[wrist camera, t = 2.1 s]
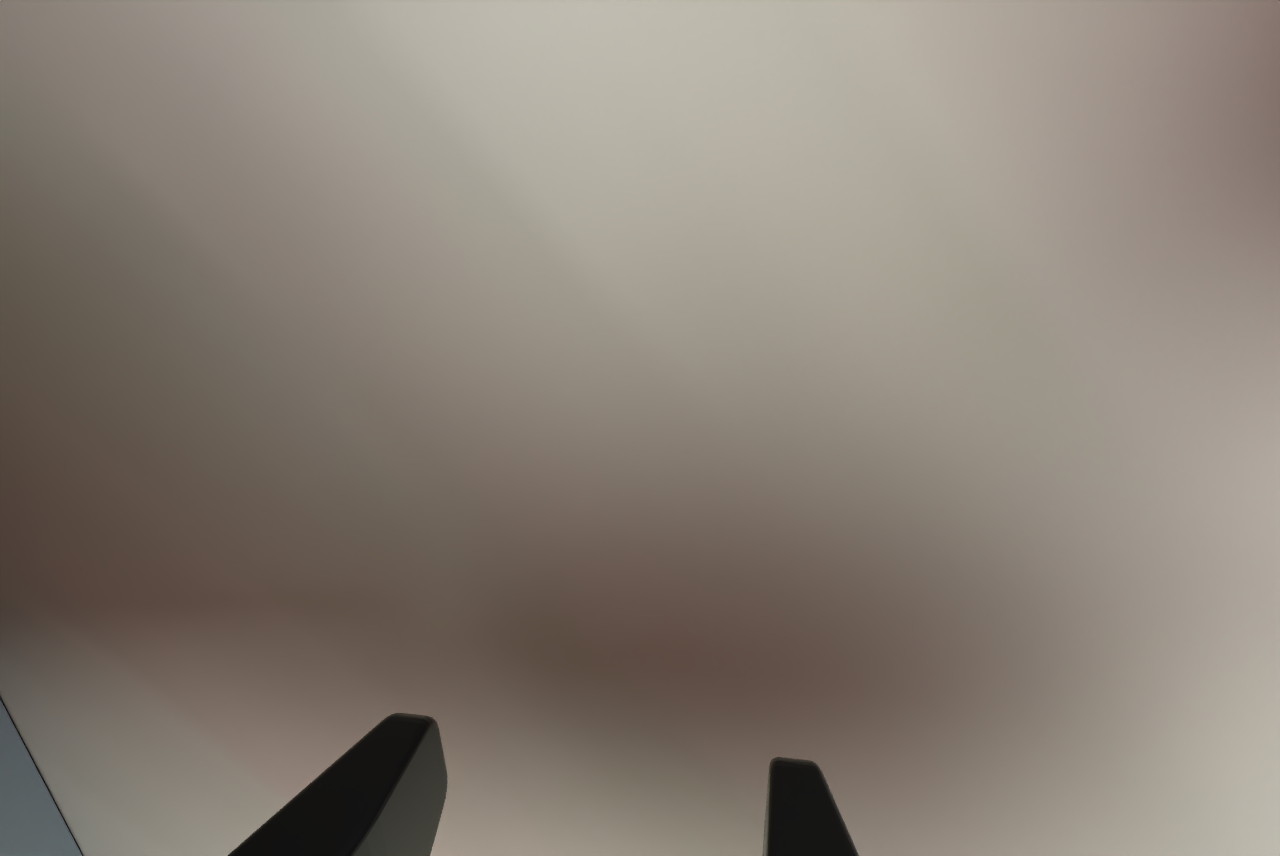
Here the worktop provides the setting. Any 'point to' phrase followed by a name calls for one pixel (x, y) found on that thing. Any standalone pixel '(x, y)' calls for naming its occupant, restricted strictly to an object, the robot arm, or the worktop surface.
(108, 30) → the worktop surface
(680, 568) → the worktop surface
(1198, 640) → the worktop surface
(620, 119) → the worktop surface
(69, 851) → the tray
